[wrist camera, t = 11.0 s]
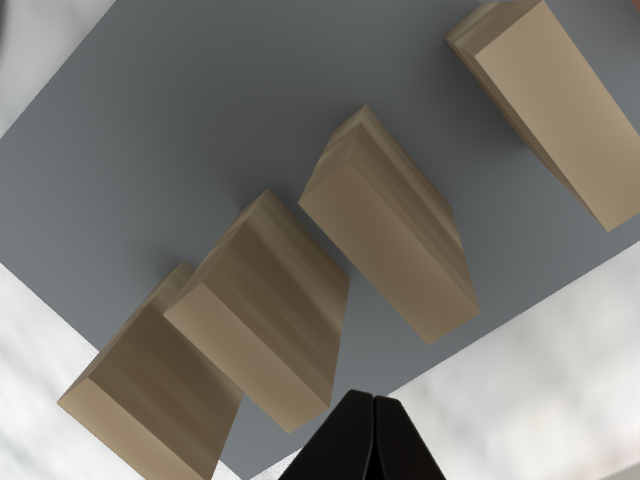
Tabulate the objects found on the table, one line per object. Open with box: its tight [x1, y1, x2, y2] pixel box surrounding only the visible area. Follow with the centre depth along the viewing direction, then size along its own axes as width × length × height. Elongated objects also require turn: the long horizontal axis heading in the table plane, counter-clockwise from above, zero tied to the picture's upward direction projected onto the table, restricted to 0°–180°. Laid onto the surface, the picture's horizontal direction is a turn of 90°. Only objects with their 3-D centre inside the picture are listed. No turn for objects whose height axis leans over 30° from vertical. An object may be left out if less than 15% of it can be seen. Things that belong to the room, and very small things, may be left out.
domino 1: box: [57, 260, 244, 480], centre depth 20 cm, size 2×5×8 cm, turn 42°
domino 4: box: [443, 0, 640, 232], centre depth 15 cm, size 2×5×8 cm, turn 42°
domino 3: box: [298, 104, 481, 346], centre depth 17 cm, size 2×5×8 cm, turn 42°
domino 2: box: [163, 188, 351, 434], centre depth 19 cm, size 2×5×8 cm, turn 42°
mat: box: [0, 0, 640, 480], centre depth 20 cm, size 19×34×1 cm, turn 132°
